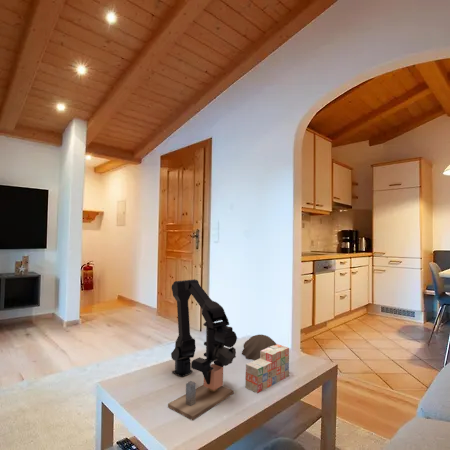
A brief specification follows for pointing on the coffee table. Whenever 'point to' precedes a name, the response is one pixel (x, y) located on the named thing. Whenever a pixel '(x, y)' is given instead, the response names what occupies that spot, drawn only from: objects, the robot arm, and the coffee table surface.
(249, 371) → the stack of blocks
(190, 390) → the steel post
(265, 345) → the decorative dome
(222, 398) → the board
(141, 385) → the coffee table surface
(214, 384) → the salmon orange block
